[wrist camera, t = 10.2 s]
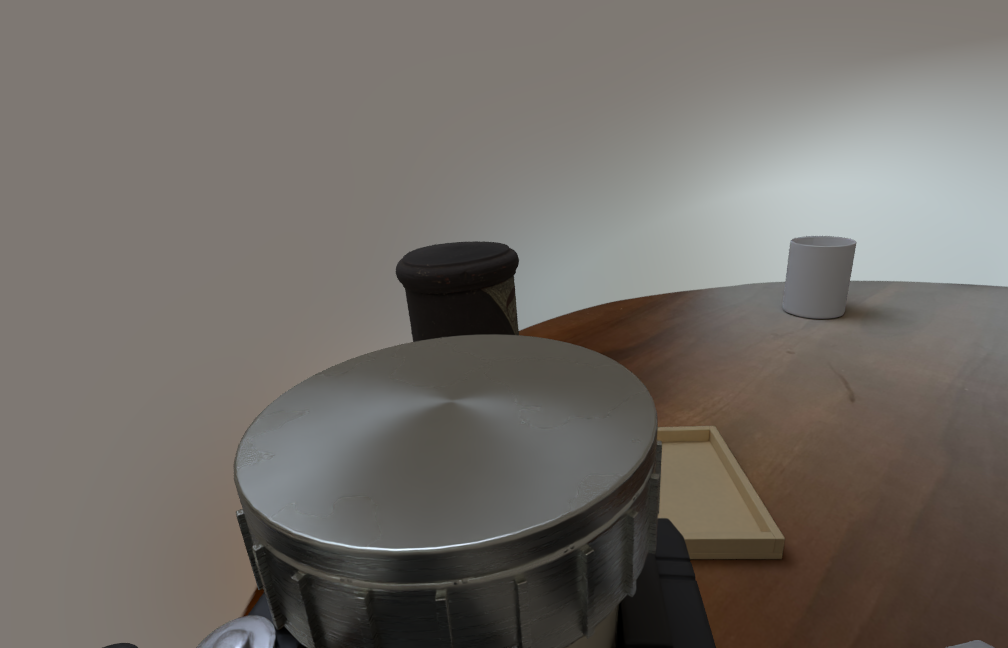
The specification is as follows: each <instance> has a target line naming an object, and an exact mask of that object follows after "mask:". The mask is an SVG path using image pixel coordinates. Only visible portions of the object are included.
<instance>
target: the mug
mask: <svg viewBox="0 0 1008 648" xmlns="http://www.w3.org/2000/svg"><path fill="white" fill-rule="evenodd" d="M855 248H856V241H854V240H852V239H848V238H842V237H832V236H806V237H799V238H794V239H792V240H791V242H790V249H789V258H788V266H787V274H786V281H785V289H784V297H783V305H782V307H783V309H784V310H785V311H786V312H788V313H790V314H793V315H796V316H800V317H805V318H814V319H829V318H836V317H840V316H842V315H843V314H844V312H845V306H846V301H847V295H848V289H849V283H850V277H851V271H852V265H853V259H854V253H855Z"/></svg>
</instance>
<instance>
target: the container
mask: <svg viewBox="0 0 1008 648" xmlns="http://www.w3.org/2000/svg"><path fill="white" fill-rule="evenodd" d="M518 263H519V259H518V255H517V253H516V252H515V251H514V250H512V249H511V248H509V247H508V246H507V245H505V244H501V243H494V242H457V243H445V244H438V245H432V246H427V247H423V248H419V249H416V250H413V251H411V252H409V253H407V254H406V255H405V256H404V257H403V258H402V259H401V260H400V261H399V262H398V264H397V267H396V275H397V278H398V280H399V281H400V282H401V283H402V284H403V287H404V288H405V290H406V297H407V303H408V310H409V316H410V322H411V330H412V336H413V342H416V341H422V340H428V339H435V338H442V337H452V336H464V335H518V336H519V331H518V322H517V310H516V296H515V285H514V274H515V273H516V268H517V267H518Z"/></svg>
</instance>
